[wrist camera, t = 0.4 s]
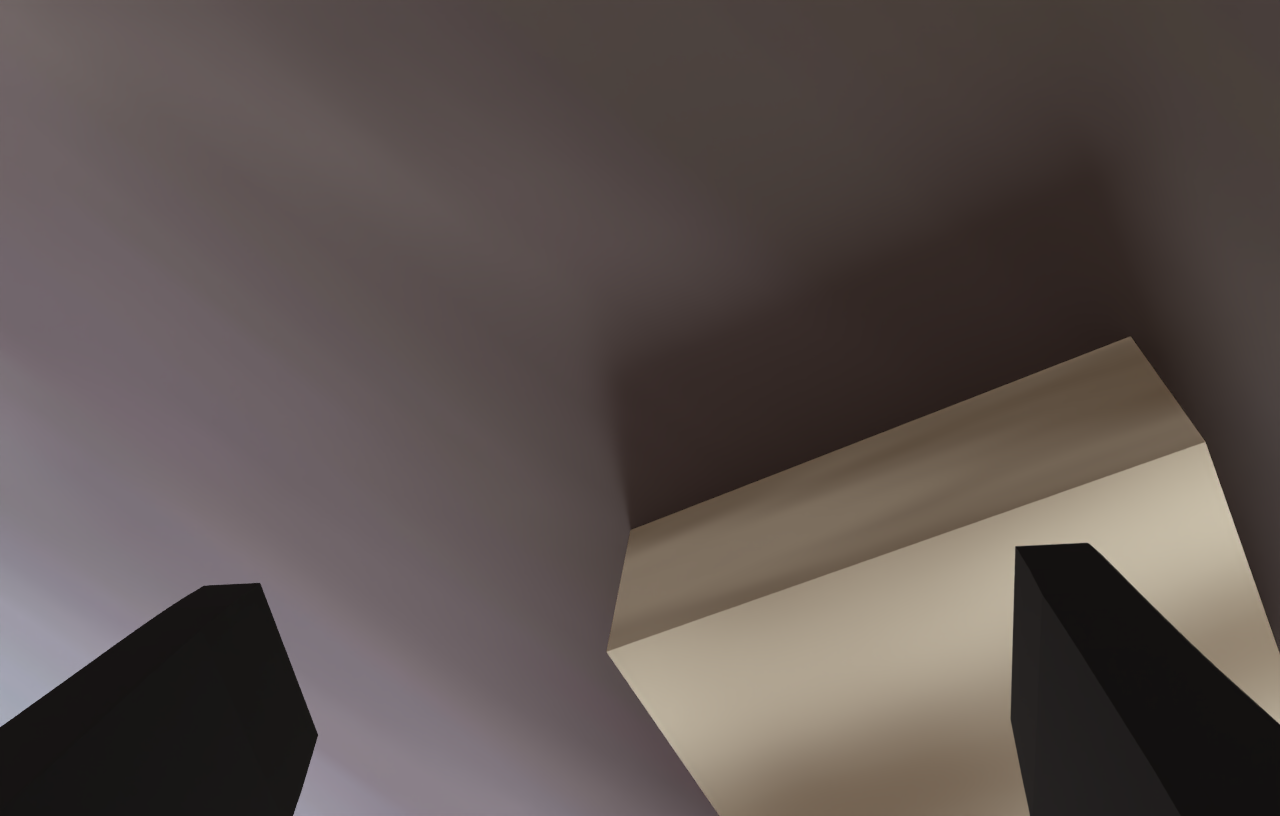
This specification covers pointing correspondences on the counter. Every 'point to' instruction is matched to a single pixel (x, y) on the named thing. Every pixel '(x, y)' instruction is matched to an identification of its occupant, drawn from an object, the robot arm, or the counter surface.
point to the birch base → (922, 594)
